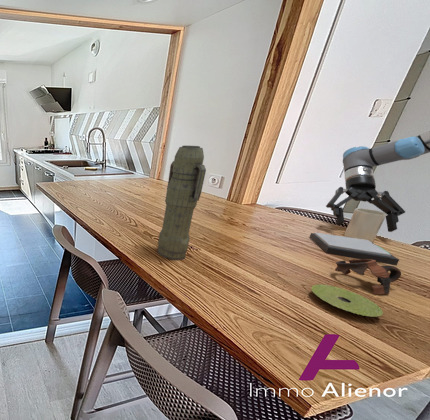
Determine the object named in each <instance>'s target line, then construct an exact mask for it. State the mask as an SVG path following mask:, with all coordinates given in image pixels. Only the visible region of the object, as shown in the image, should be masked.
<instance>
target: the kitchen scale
mask: <svg viewBox="0 0 430 420" xmlns="http://www.w3.org/2000/svg"><path fill="white" fill-rule="evenodd" d="M309 239H310V240H311V241H312V242H313V243H315V245H317V246H318V247H319V248H320V249H321V250H322V251H323V252H324V253H325V254H329V255H335V256H340V257H345V258H346V257H347V258H351V259H352V258H353V259H372V260H376V263H382V264H386V265H392V266H397V265H398V264H399V262H400V259H399V258H398V257H396V256H395V255H393V254H392V253H391V252H390V251H388V250H386V249H385V248H383V247H381V246H379V245H377V244H375V243H374V242H370V241H368V240H364V239H357V238H350V237H346V236H344V235H335V234H329V233H322V232H315V231H314V232H311V233H310V235H309Z"/></svg>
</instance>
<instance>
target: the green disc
mask: <svg viewBox="0 0 430 420" xmlns="http://www.w3.org/2000/svg"><path fill="white" fill-rule="evenodd" d="M310 290H311V291H312V293H313V294H314V295H315V296H317V297H318V298H319V299H321V300H322V301H324V302H326V303H328V304H330V305H331V306H333V307H336V308H338V309H341V310H344V311H346V312H350V313H353V314H356V315H360V316H363V317H364V316H366V317H370V318H371V317H373V318H374V317H381V316H383V314H384V312H383V309H382V308H381V307H380V306H379V305H378V304H377V303H375V302H374V301H372V300H370V299H369V298H367V297H365V296H363V295H361V294H358V293H355V292H354V291H351V290H347V289H345V288H341V287H339V286H334V285H329V284H322V283H321V284H313V285H312V286H311V289H310Z"/></svg>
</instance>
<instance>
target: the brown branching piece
mask: <svg viewBox="0 0 430 420" xmlns="http://www.w3.org/2000/svg"><path fill="white" fill-rule="evenodd" d="M335 264H336V267H335V269H334V271H335V272H339V273H340V272H341V273H342V274H343V275H344V276H346V275H350V274H351V273H352V272H354V273H356V274H357V275H360V276H365V272H366V270H367V269H368V270H369V271H370V272H371V274H372V275H373V276H374V277H376V279H377V280H376V282H377V283H379V284H375V285H371V289H372V294H373V295H385V294H386V295H387V294H390V289H391V284H392V283H394V282H397V281H398V280H399V279H400V278H401V277H402V271H401V270H400V269H399V268H398V267H396V265H389V264H385V265H380V264H378V262H376V260H372V259H358V258H356V259H349V262H346V260H340V261H337V262H335ZM351 271H352V272H351Z"/></svg>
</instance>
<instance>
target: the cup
mask: <svg viewBox="0 0 430 420" xmlns="http://www.w3.org/2000/svg"><path fill="white" fill-rule="evenodd" d="M386 216H387V214H386V213H384V212H383V211H381V210H375V209H370V208H362V207H361V208H360V207H358V208H357V207H356V208H355V209H354V210H353V213H352V215H351V218H350V219H349V221H348V225H347V226H346V229H345V231H344V234H343V237H350V238H357V239H364V240H368V241H370V242H372V243H374V241H375V240H376V238H377V236H378V233H379V231H380V229H381V227H382V225H383V223H384V221H385V220H386Z"/></svg>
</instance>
